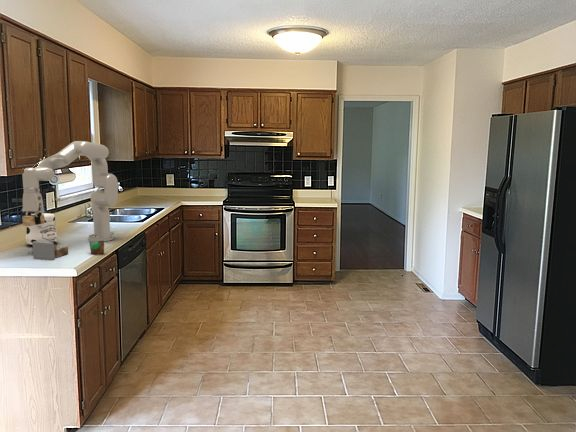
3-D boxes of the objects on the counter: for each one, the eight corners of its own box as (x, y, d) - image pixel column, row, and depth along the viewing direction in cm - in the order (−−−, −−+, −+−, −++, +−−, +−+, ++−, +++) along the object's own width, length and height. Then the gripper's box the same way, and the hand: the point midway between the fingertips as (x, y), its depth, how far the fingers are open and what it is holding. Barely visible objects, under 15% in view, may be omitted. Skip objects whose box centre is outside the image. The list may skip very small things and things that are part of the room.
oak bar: (38, 222, 266) (37, 213, 265) (44, 223, 264) (43, 214, 264) (23, 225, 257) (22, 216, 256) (29, 226, 255) (28, 217, 254)
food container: (85, 252, 268) (84, 235, 266) (95, 250, 272) (95, 233, 271) (94, 256, 259) (93, 238, 258) (105, 254, 264) (104, 236, 262)
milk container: (53, 247, 279) (52, 217, 277) (21, 248, 276) (19, 217, 273) (61, 241, 296) (59, 212, 293) (31, 242, 293) (29, 213, 290)
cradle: (55, 252, 266) (55, 245, 265) (68, 253, 263) (67, 246, 263) (43, 256, 257) (42, 249, 256) (56, 257, 255) (55, 250, 254)
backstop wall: (36, 257, 255) (35, 241, 253) (55, 259, 252) (53, 242, 250) (33, 258, 253) (32, 241, 251) (52, 260, 250) (51, 243, 248)
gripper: (49, 190, 259) (51, 223, 262) (24, 189, 264) (27, 221, 267) (38, 192, 252) (41, 225, 255) (13, 190, 256) (16, 224, 259)
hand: (34, 223), depth 261 cm, fingers closed on oak bar, 4 cm apart
